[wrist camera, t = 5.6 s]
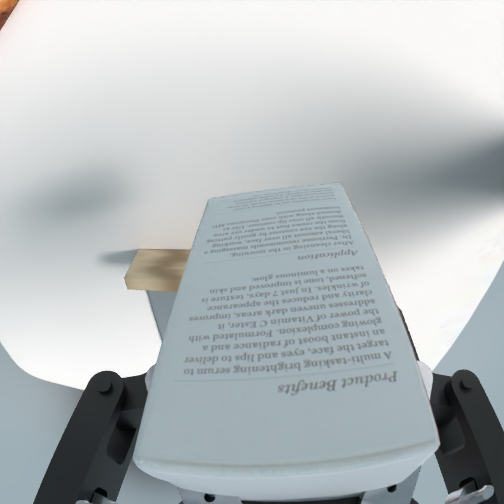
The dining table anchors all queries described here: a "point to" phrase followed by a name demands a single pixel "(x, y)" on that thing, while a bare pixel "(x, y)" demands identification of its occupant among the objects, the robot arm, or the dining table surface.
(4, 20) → the slice of bread
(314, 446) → the small box
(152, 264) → the corner walls
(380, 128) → the dining table surface
